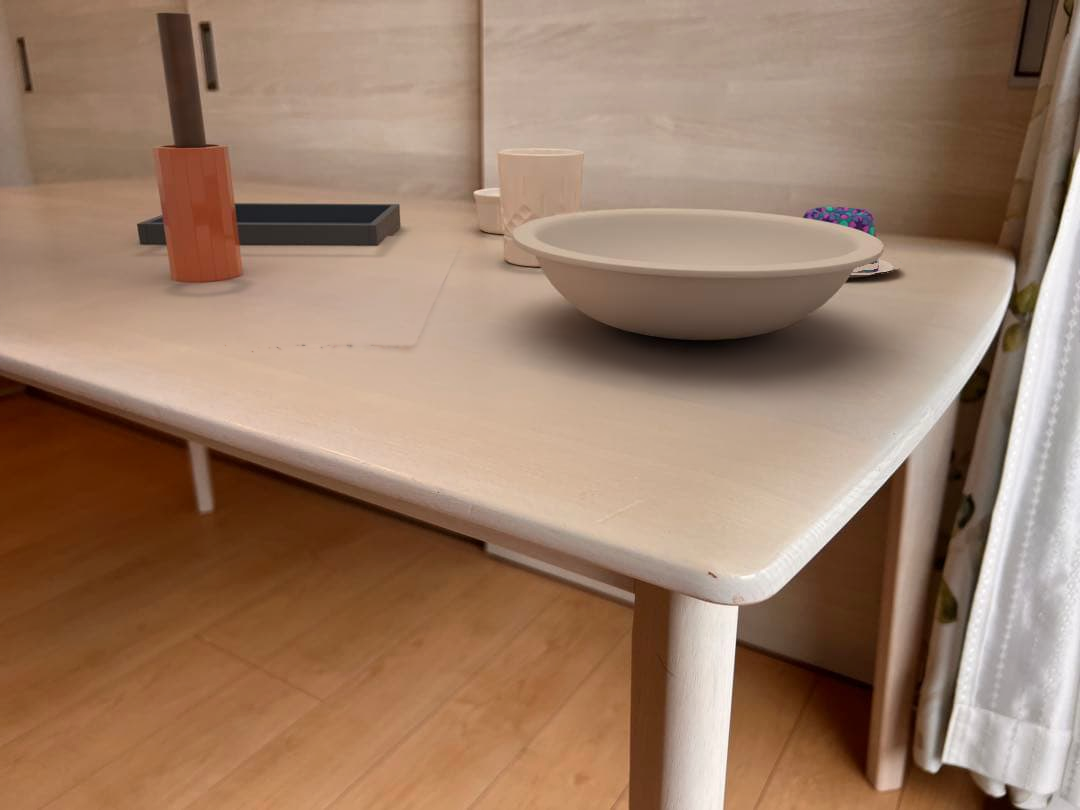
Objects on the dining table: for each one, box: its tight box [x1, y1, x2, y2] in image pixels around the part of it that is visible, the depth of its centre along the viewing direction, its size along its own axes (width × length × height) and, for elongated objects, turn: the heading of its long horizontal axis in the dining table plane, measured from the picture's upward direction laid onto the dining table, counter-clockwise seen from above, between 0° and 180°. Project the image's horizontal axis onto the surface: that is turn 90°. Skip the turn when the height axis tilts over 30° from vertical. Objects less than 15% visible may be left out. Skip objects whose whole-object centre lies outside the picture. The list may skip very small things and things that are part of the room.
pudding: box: [802, 206, 893, 278], centre depth 78 cm, size 12×12×5 cm
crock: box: [151, 142, 244, 284], centre depth 70 cm, size 6×6×11 cm
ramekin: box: [473, 187, 505, 235], centre depth 98 cm, size 9×9×4 cm
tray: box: [136, 202, 402, 247], centre depth 92 cm, size 24×16×3 cm, turn 90°
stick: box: [155, 12, 207, 148], centre depth 68 cm, size 2×2×20 cm
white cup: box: [497, 147, 585, 268], centre depth 80 cm, size 8×8×10 cm
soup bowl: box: [512, 207, 885, 341], centre depth 58 cm, size 24×24×7 cm
